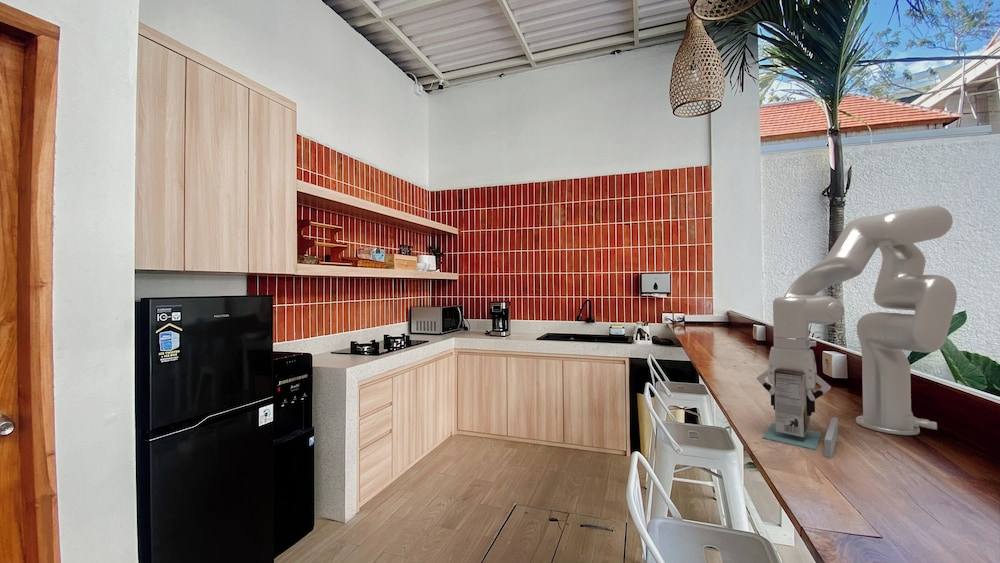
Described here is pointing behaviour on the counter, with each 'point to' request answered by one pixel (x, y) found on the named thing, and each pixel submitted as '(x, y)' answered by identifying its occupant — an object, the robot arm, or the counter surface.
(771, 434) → the mat
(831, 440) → the low wall
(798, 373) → the coffee box
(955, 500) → the counter surface
